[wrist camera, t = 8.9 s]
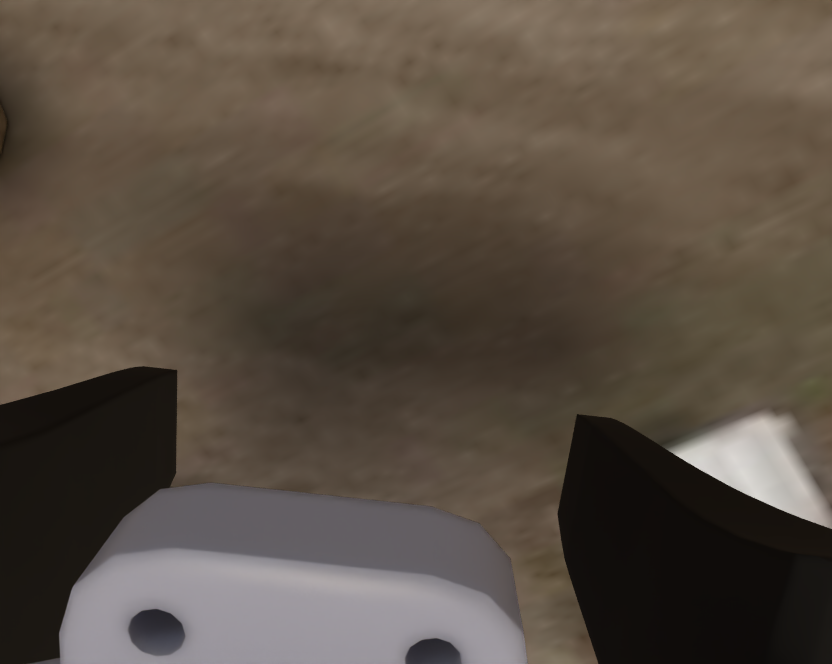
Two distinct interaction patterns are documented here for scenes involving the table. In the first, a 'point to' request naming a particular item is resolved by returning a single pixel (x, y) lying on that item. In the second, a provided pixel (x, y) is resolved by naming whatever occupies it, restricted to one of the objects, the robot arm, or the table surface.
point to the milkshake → (2, 127)
